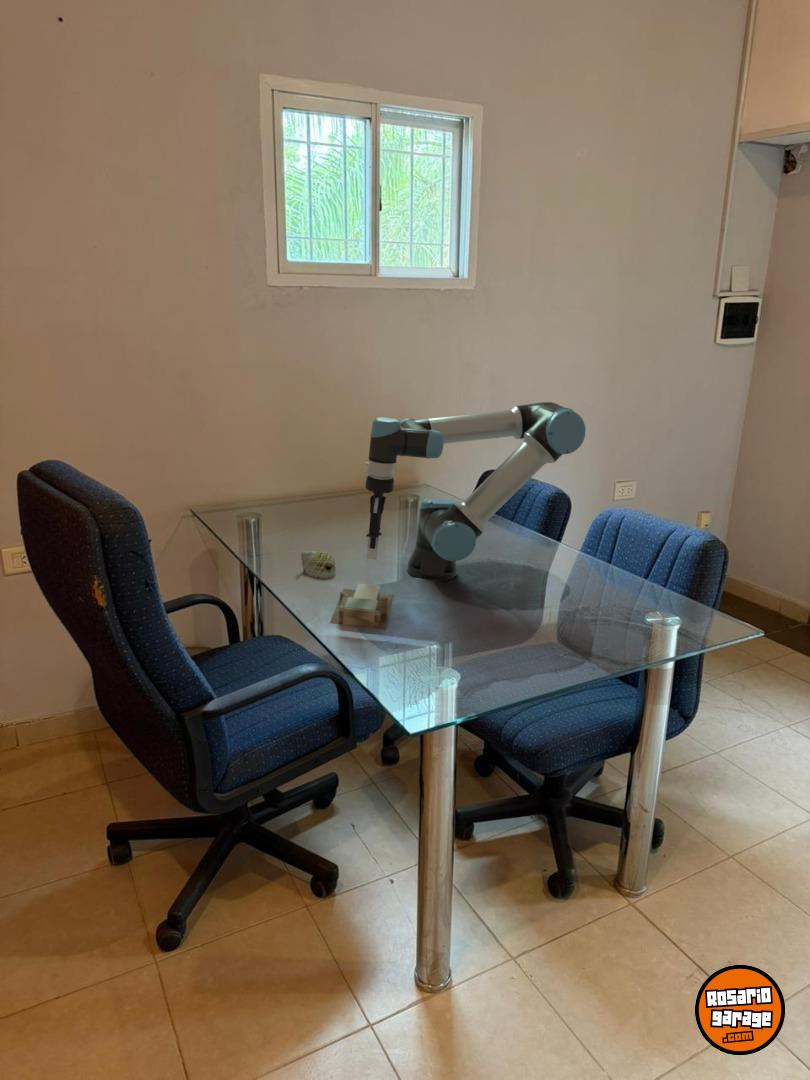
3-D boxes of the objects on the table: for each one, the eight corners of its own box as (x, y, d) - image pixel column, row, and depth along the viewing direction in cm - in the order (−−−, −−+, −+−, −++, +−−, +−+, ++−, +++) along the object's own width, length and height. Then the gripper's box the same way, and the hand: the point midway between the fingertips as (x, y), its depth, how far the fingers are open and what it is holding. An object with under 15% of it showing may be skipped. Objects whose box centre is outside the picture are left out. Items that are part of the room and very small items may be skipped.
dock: (393, 598, 206) (395, 580, 204) (385, 634, 184) (387, 613, 182) (342, 592, 206) (344, 573, 205) (329, 627, 185) (331, 606, 183)
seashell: (335, 582, 211) (321, 551, 208) (305, 592, 214) (291, 561, 211) (344, 568, 220) (330, 538, 218) (315, 578, 223) (301, 548, 220)
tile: (379, 592, 206) (379, 586, 205) (375, 608, 195) (375, 601, 195) (357, 590, 206) (358, 583, 205) (352, 605, 195) (352, 598, 195)
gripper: (369, 469, 208) (361, 549, 215) (364, 479, 195) (355, 564, 202) (396, 472, 207) (386, 552, 215) (392, 483, 195) (382, 567, 202)
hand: (371, 558), depth 209 cm, fingers closed
